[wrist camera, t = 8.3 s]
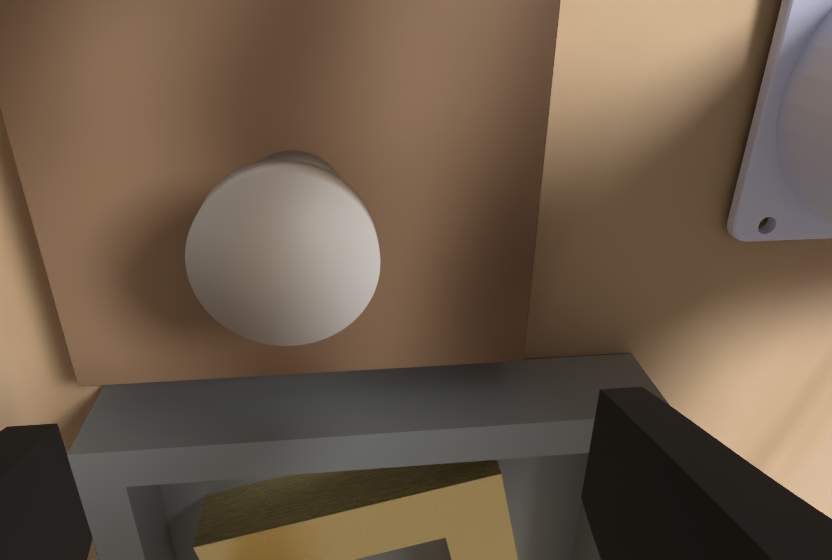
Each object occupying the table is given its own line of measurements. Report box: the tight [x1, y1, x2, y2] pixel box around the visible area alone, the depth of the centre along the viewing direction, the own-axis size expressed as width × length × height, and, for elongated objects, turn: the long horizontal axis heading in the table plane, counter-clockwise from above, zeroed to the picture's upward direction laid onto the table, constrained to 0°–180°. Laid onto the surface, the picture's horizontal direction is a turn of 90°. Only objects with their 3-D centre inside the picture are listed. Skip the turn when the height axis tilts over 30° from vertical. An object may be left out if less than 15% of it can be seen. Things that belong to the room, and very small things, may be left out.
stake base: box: [0, 0, 560, 386], centre depth 14 cm, size 12×10×5 cm
